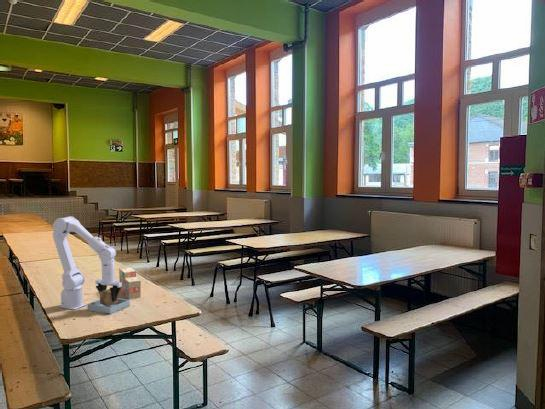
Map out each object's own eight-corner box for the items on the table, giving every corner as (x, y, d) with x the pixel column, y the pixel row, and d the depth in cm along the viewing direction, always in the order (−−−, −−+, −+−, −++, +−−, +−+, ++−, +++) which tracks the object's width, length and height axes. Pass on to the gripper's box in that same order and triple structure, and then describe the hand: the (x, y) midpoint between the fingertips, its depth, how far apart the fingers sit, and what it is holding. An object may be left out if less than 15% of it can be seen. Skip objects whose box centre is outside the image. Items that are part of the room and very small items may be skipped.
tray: (87, 310, 199) (87, 304, 199) (107, 302, 211) (107, 296, 211) (110, 314, 194) (110, 308, 194) (129, 306, 206) (129, 300, 206)
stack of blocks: (141, 297, 220) (140, 274, 219) (128, 299, 216) (128, 276, 215) (130, 287, 238) (130, 266, 237) (119, 289, 234) (118, 267, 233)
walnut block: (100, 303, 202) (99, 291, 201) (110, 300, 206) (110, 288, 206) (107, 306, 198) (107, 293, 198) (118, 302, 203) (117, 290, 203)
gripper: (90, 272, 200) (91, 300, 201) (113, 276, 195) (114, 304, 196) (101, 269, 207) (102, 296, 208) (124, 272, 201) (125, 300, 202)
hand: (108, 300), depth 202 cm, fingers closed on walnut block, 6 cm apart
